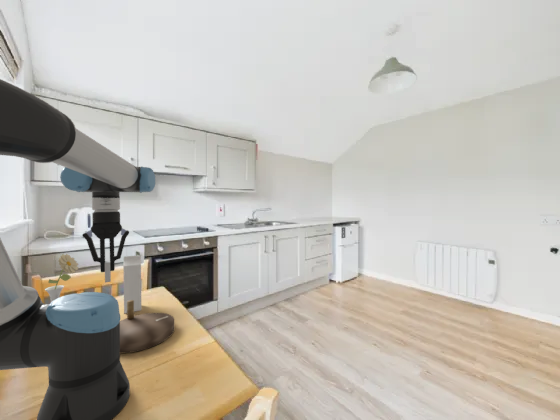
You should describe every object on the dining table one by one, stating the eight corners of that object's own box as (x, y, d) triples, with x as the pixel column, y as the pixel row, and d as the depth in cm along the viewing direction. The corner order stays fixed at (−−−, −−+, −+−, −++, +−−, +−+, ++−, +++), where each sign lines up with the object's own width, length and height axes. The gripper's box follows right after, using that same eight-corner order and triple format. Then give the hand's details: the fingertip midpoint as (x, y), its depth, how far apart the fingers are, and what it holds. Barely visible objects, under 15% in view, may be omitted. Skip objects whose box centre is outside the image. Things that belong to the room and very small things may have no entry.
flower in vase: (50, 336, 79) (48, 260, 78) (23, 333, 81) (21, 258, 80) (89, 318, 91) (88, 252, 91) (64, 315, 94) (63, 251, 93)
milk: (124, 308, 100) (123, 255, 100) (141, 305, 104) (140, 253, 103) (124, 313, 95) (123, 258, 95) (141, 310, 98) (140, 256, 98)
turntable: (116, 362, 66) (116, 330, 65) (95, 336, 78) (94, 309, 78) (185, 332, 81) (185, 306, 81) (158, 314, 94) (158, 292, 94)
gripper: (79, 211, 74) (81, 288, 75) (129, 210, 81) (131, 280, 82) (82, 211, 80) (84, 281, 81) (129, 210, 88) (130, 275, 88)
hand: (107, 280), depth 82 cm, fingers closed
